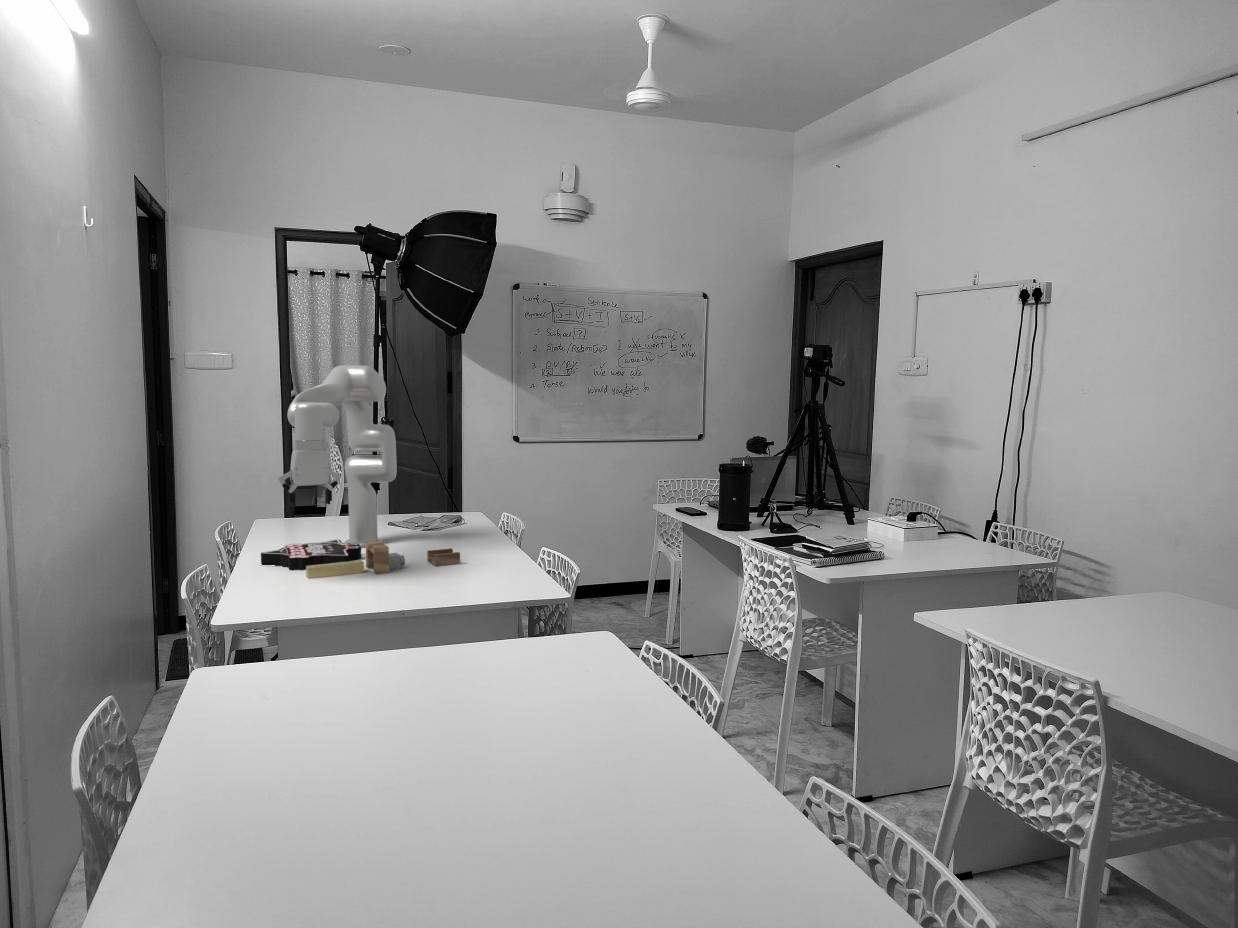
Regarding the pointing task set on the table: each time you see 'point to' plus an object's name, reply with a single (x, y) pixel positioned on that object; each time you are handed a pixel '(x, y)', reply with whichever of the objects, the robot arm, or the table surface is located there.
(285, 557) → the wall plaque
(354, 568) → the bar
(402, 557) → the grey motor
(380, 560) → the wooden arch block
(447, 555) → the v block
